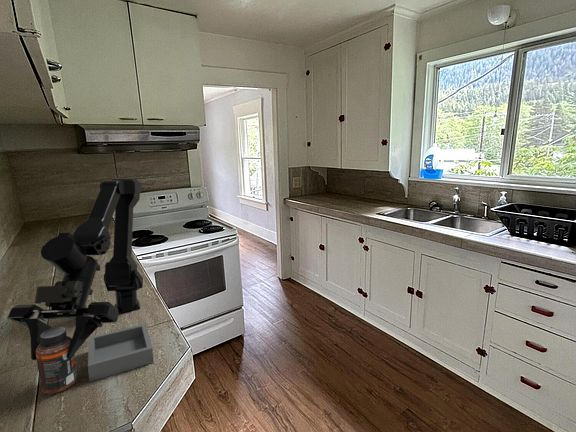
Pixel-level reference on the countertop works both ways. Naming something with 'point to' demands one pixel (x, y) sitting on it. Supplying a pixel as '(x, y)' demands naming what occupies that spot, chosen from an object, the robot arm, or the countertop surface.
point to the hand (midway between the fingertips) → (51, 358)
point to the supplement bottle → (55, 361)
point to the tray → (119, 351)
